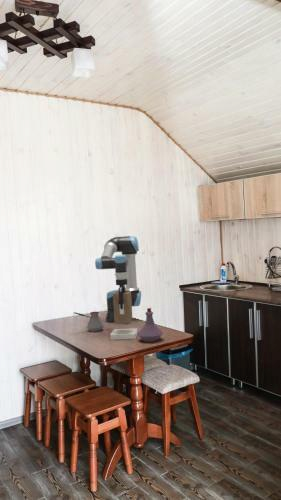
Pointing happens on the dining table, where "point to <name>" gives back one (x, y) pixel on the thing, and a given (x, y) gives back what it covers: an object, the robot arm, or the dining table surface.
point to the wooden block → (127, 302)
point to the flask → (150, 329)
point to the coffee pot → (93, 322)
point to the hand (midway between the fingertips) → (123, 312)
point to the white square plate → (124, 334)
